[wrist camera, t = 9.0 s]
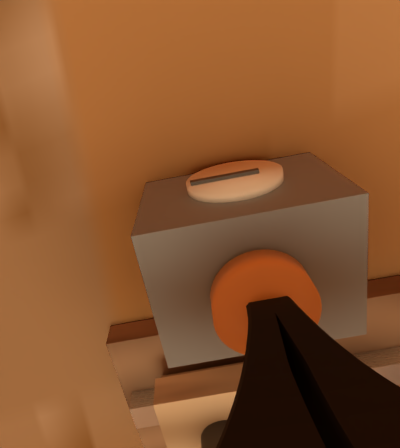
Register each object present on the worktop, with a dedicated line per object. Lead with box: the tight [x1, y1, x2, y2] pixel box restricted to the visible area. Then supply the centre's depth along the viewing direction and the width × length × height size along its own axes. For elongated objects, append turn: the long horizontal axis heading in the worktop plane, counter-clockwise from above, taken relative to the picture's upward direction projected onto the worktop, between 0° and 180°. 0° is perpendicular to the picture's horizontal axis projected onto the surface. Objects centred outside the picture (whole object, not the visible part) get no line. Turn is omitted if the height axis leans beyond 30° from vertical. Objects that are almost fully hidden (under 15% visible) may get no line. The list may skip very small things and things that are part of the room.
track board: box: [106, 275, 400, 448], centre depth 22 cm, size 9×22×2 cm, turn 100°
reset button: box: [210, 249, 322, 355], centre depth 13 cm, size 4×4×2 cm
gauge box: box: [131, 152, 369, 368], centre depth 16 cm, size 6×8×6 cm
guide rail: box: [129, 346, 400, 429], centre depth 21 cm, size 2×21×1 cm, turn 100°
